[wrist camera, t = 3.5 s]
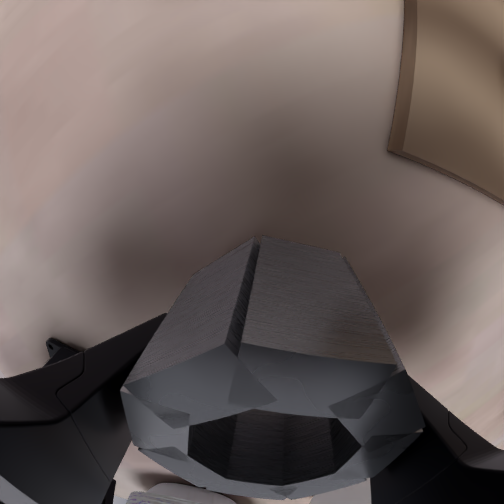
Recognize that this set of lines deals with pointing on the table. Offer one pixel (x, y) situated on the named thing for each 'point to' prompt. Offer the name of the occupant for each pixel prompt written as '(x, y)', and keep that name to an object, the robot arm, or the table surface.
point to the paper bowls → (177, 495)
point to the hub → (272, 378)
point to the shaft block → (453, 91)
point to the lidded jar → (346, 495)
